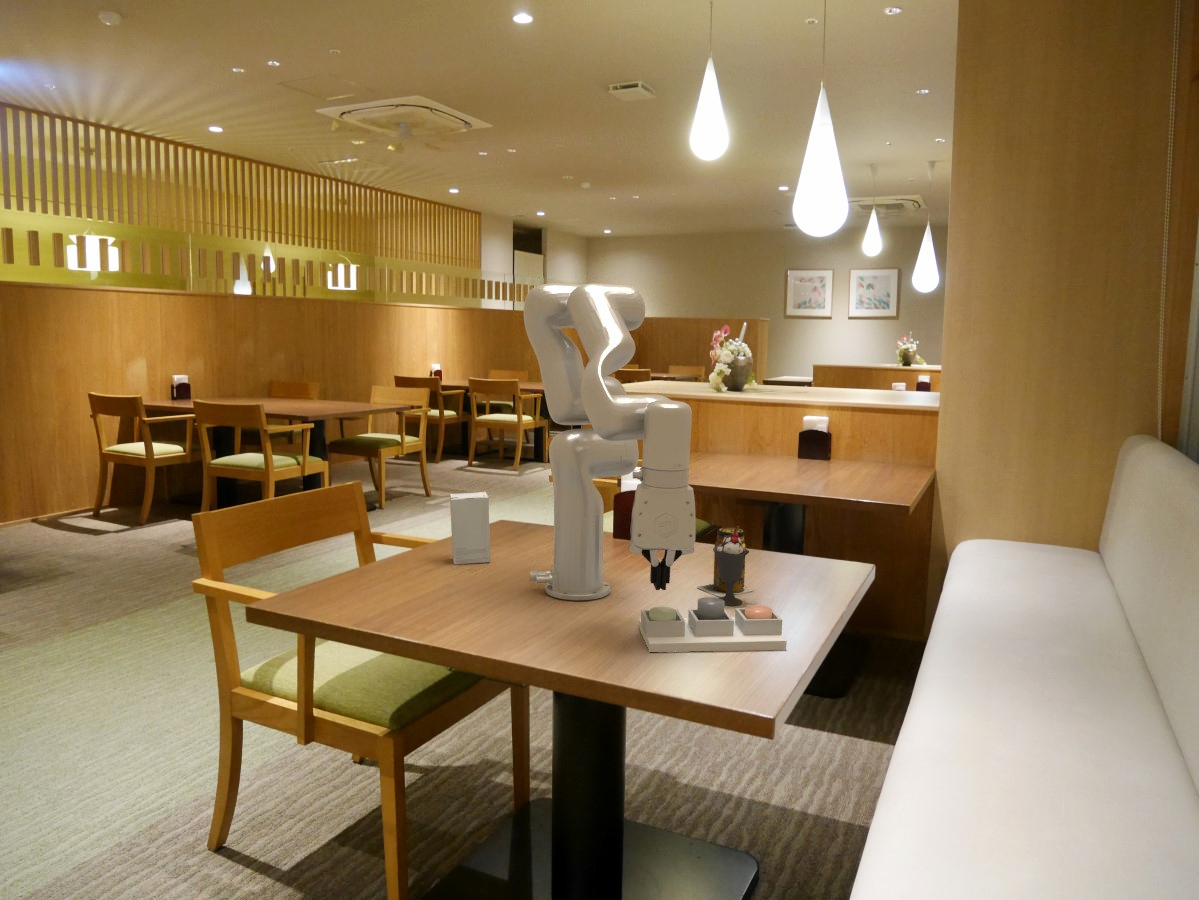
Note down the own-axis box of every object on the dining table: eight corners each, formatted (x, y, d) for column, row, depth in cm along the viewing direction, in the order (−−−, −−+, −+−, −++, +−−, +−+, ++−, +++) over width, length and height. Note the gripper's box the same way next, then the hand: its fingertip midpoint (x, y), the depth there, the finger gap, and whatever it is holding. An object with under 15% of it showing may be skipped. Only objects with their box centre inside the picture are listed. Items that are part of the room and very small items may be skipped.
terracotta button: (748, 631, 140) (749, 613, 140) (741, 622, 144) (742, 605, 144) (774, 630, 140) (775, 613, 140) (767, 622, 145) (767, 604, 144)
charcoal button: (700, 623, 139) (700, 605, 139) (694, 614, 143) (695, 597, 143) (726, 623, 139) (727, 605, 139) (720, 614, 144) (721, 596, 143)
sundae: (739, 609, 157) (742, 529, 155) (705, 603, 160) (708, 524, 158) (753, 600, 162) (756, 522, 160) (720, 594, 166) (722, 518, 164)
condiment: (753, 591, 169) (755, 531, 167) (720, 598, 164) (722, 536, 162) (728, 582, 175) (730, 524, 173) (696, 588, 170) (697, 529, 168)
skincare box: (488, 556, 192) (488, 491, 190) (490, 563, 186) (490, 496, 184) (450, 558, 190) (449, 492, 188) (451, 565, 184) (450, 497, 182)
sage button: (651, 633, 138) (651, 615, 138) (647, 624, 143) (647, 606, 142) (678, 632, 139) (678, 614, 138) (673, 623, 143) (673, 606, 143)
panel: (648, 652, 135) (649, 628, 134) (638, 627, 147) (638, 604, 146) (786, 649, 137) (787, 625, 136) (765, 624, 149) (766, 602, 148)
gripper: (621, 482, 133) (616, 595, 137) (715, 483, 135) (709, 595, 138) (616, 472, 141) (611, 579, 144) (705, 474, 142) (699, 580, 145)
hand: (659, 587), depth 141 cm, fingers closed
